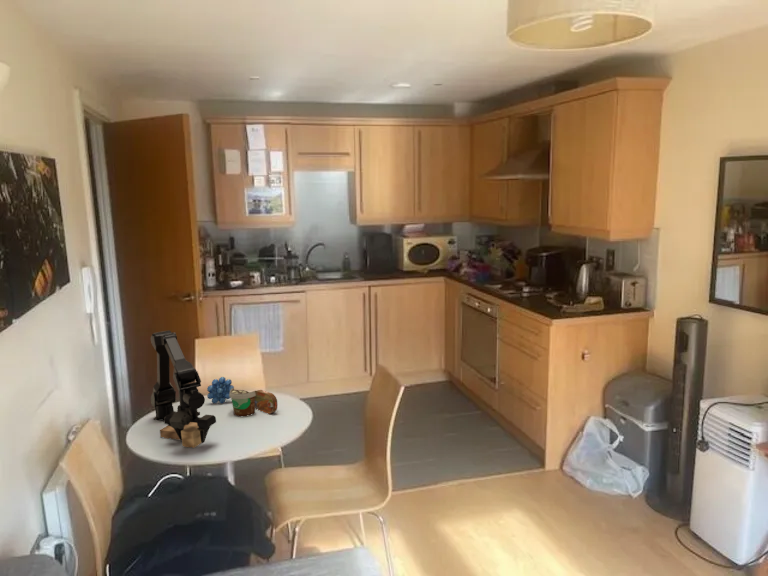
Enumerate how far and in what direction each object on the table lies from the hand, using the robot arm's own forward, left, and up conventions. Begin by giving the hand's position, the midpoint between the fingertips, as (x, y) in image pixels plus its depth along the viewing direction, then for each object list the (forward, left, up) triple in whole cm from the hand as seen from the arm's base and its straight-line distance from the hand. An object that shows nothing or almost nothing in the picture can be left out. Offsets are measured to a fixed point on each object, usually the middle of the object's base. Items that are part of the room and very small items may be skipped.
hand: (192, 441), depth 212 cm
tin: (+10, +35, -1) cm, 36 cm away
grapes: (-14, +39, -1) cm, 41 cm away
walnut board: (-10, +9, -1) cm, 13 cm away
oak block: (0, 0, -1) cm, 1 cm away
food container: (+2, +29, -1) cm, 29 cm away
